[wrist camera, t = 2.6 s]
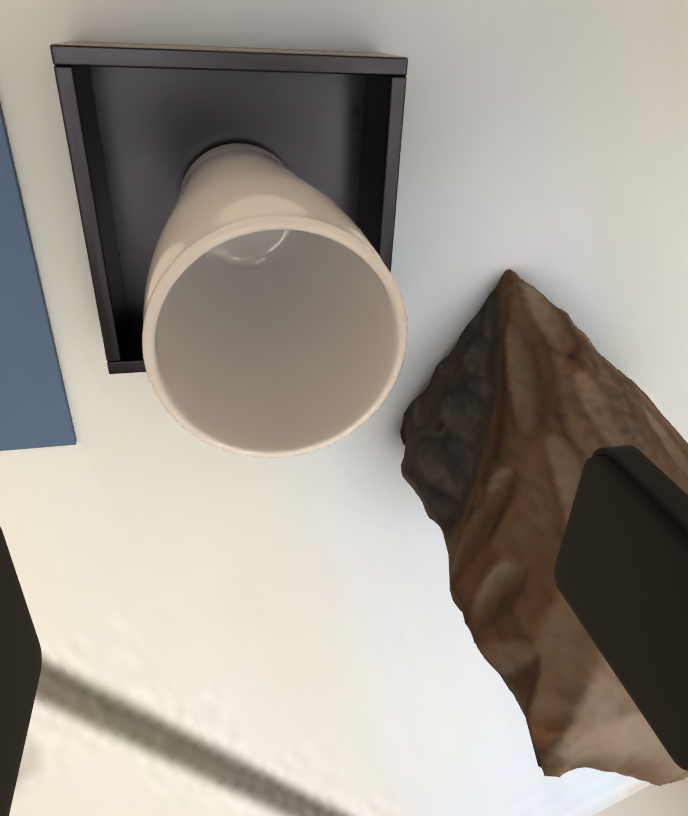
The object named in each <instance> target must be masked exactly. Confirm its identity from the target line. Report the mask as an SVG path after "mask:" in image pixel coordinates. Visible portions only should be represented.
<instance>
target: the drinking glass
mask: <svg viewBox="0 0 688 816" xmlns="http://www.w3.org/2000/svg"><path fill="white" fill-rule="evenodd" d="M406 345H407V318H406V312H405V307H404V303H403V300H402V296H401V294H400V291H399V289H398V286H397V284H396V282H395V280H394V278H393V276H392V274H391V273H390V271H389V270H388V269H387V267H386V265H385V264H384V262H383V260H382V259H381V257H380V256H379V254H378V253H377V251H376V250H375V248H374V247H373V245H372V244H371V242H370V241H369V240H368V238H367V237H366V236H365V234H364V233H363V232H362V231H361V229H360V228H359V227H358V226H357V225H356V223H355V222H354V221H353V220H352V219H351V218H350V217H349V216H348V215H347V214H346V213H345V212H344V211H343V210H342V209H341V208H340V207H339V206H338V205H337V204H336V203H335V202H334V201H332V200H331V199H330V198H329V197H327V196H326V195H325V194H323V193H322V192H321V191H319V190H318V189H317V188H315V187H314V186H312V185H311V184H309V183H308V182H306V181H305V180H303V179H302V178H300V177H299V176H297V175H296V174H295V173H293V172H292V171H290V170H289V169H288V168H287V167H286V166H285V164H284V163H283V162H282V161H281V160H280V159H278V158H277V157H276V156H275V155H273V154H272V153H270V152H268V151H267V150H265V149H263V148H260V147H257V146H254V145H250V144H244V143H231V144H225V145H221V146H218V147H215V148H213V149H211V150H209V151H207V152H206V153H204V154H202V155H201V156H200V157H199V158H198V159H197V160H196V161H195V162H194V163H193V164H192V165H191V166H190V168H189V169H188V171H187V172H186V174H185V176H184V178H183V181H182V183H181V187H180V190H179V196H178V199H177V201H176V203H175V205H174V207H173V209H172V211H171V213H170V215H169V218H168V220H167V222H166V224H165V226H164V228H163V230H162V232H161V234H160V236H159V239H158V241H157V244H156V247H155V249H154V252H153V255H152V259H151V263H150V267H149V271H148V275H147V281H146V288H145V295H144V305H143V332H142V349H143V359H144V363H145V368H146V372H147V375H148V378H149V381H150V383H151V385H152V388H153V390H154V392H155V394H156V396H157V397H158V399H159V401H160V402H161V404H162V405H163V406H164V408H165V409H166V411H167V412H168V413H169V414H170V415H171V416H172V417H173V419H174V420H175V421H176V422H177V423H179V424H180V425H181V426H182V427H183V428H184V429H185V430H187V431H188V432H190V433H191V434H192V435H194V436H195V437H197V438H198V439H200V440H202V441H203V442H205V443H207V444H210V445H212V446H214V447H216V448H219V449H221V450H224V451H227V452H231V453H234V454H238V455H244V456H249V457H258V458H280V457H289V456H296V455H300V454H305V453H309V452H312V451H315V450H318V449H321V448H323V447H326V446H328V445H330V444H332V443H335V442H337V441H339V440H340V439H342V438H344V437H345V436H347V435H349V434H350V433H352V432H353V431H354V430H356V429H357V428H358V427H360V426H361V425H362V424H363V423H364V422H366V421H367V420H368V419H369V418H370V417H371V416H372V415H373V414H374V413H375V412H376V410H377V409H378V408H379V407H380V406H381V405H382V403H383V402H384V400H385V399H386V398H387V396H388V395H389V393H390V391H391V390H392V388H393V386H394V384H395V382H396V380H397V378H398V376H399V373H400V370H401V367H402V365H403V361H404V357H405V352H406Z"/></svg>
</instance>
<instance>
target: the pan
mask: <svg viewBox="0 0 688 816" xmlns="http://www.w3.org/2000/svg"><path fill="white" fill-rule="evenodd" d="M50 49H51V55H52V60H53V64H54V65H56V66H54V71H55V76H56V82H57V88H58V93H59V99H60V104H61V110H62V115H63V121H64V126H65V132H66V137H67V143H68V149H69V154H70V160H71V165H72V171H73V176H74V182H75V187H76V193H77V198H78V204H79V210H80V215H81V221H82V226H83V232H84V237H85V243H86V248H87V254H88V259H89V265H90V270H91V276H92V282H93V287H94V293H95V298H96V304H97V309H98V315H99V320H100V326H101V331H102V337H103V343H104V348H105V354H106V359H107V361H108V362H107V365H108V370H109V373H110V374H118V373H135V372H146V368H145V363H144V359H143V349H142V332H143V305H144V295H145V288H146V281H147V275H148V271H149V267H150V263H151V259H152V255H153V252H154V249H155V247H156V244H157V241H158V239H159V236H160V234H161V232H162V230H163V228H164V226H165V224H166V222H167V220H168V218H169V215H170V213H171V211H172V209H173V207H174V205H175V203H176V201H177V199H178V196H179V190H180V187H181V183H182V181H183V178H184V176H185V174H186V172H187V171H188V169H189V168H190V166H191V165H192V164H193V163H194V162H195V161H196V160H197V159H198V158H199V157H200V156H201V155H202V154H204V153H206V152H207V151H209V150H211V149H213V148H215V147H218V146H221V145H225V144H231V143H244V144H250V145H254V146H257V147H260V148H263V149H265V150H267V151H268V152H270V153H272V154H273V155H275V156H276V157H277V158H278V159H280V160H281V161H282V162H283V163H284V164H285V166H286V167H287V168H288V169H289V170H290V171H292V172H293V173H295V174H296V175H297V176H299V177H300V178H302V179H303V180H305V181H306V182H308V183H309V184H311V185H312V186H314V187H315V188H317V189H318V190H319V191H321V192H322V193H323V194H325V195H326V196H327V197H329V198H330V199H331V200H332V201H334V202H335V203H336V204H337V205H338V206H339V207H340V208H341V209H342V210H343V211H344V212H345V213H346V214H347V215H348V216H349V217H350V218H351V219H352V220H353V221H354V222H355V223H356V225H357V226H358V227H359V228H360V229H361V231H362V232H363V233H364V234H365V236H366V237H367V238H368V240H369V241H370V242H371V244H372V245H373V247H374V248H375V250H376V251H377V253H378V254H379V256H380V257H381V259H382V260H383V262H384V264H385V265H386V267H387V269H388V270H389V271H390V273H391V262H392V250H393V237H394V225H395V213H396V200H397V188H398V176H399V163H400V151H401V139H402V126H403V114H404V101H405V89H406V77H405V76H406V75H407V65H408V58H406V57H401V56H395V55H389V54H383V53H370V52H344V51H318V50H291V49H265V48H239V47H213V46H186V45H160V44H134V43H108V42H81V41H69V42H63V43H57V44H52V45H50Z"/></svg>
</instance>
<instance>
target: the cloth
mask: <svg viewBox="0 0 688 816" xmlns="http://www.w3.org/2000/svg"><path fill="white" fill-rule="evenodd" d="M76 442H77V441H76V437H75V432H74V428H73V424H72V419H71V415H70V410H69V406H68V401H67V397H66V393H65V388H64V384H63V379H62V375H61V371H60V366H59V362H58V357H57V353H56V348H55V344H54V340H53V335H52V331H51V326H50V322H49V317H48V313H47V309H46V304H45V300H44V295H43V291H42V287H41V282H40V278H39V273H38V269H37V264H36V260H35V256H34V251H33V247H32V242H31V238H30V233H29V229H28V225H27V220H26V216H25V211H24V207H23V203H22V198H21V194H20V189H19V185H18V180H17V176H16V172H15V167H14V163H13V158H12V154H11V149H10V145H9V141H8V136H7V132H6V127H5V123H4V119H3V114H2V110H1V105H0V451H4V450H16V449H28V448H40V447H52V446H65V445H75V444H76Z"/></svg>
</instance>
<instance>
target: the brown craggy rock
mask: <svg viewBox="0 0 688 816" xmlns="http://www.w3.org/2000/svg"><path fill="white" fill-rule="evenodd" d="M400 434H401V439H402V441H403V444H404V445H405V453H404V458H403V461H402V464H401V472H402V475H403V477H404V479H405V480H406V481H407V482H408V483H409V484H410V486H411V487H412V488H413V489H414V490H415V492H416V494H417V495H418V496H419V497H420V499H421V501H422V502H423V505H424V508H425V510H426V513H427V515H428V517H429V518H430V519H432V520H433V521H435V522H436V523H437V524H438V525H439V526H440V527H441V529H442V531H443V534H444V538H445V543H446V547H447V551H448V555H449V576H450V592H451V595H452V598H453V601H454V603H455V604H456V605H457V607H458V608H459V609H460V611H462V613H463V615H464V619H465V624H466V625H467V626H468V628H469V630H470V631H471V634H472V636H473V639H474V643H475V644H476V645H477V648H478V649H479V651H480V652H481V654H482V655H483V657H484V658H485V659H486V660H487V662H488V663H489V664H490V665H491V666H492V667H493V668H494V669H495V670H496V671H497V672H498V673H499V674H500V675H501V677H502V679H503V680H504V682H505V683H506V685H507V687H508V688H509V690H510V691H511V692H512V693H513V694H514V696H515V698H516V700H517V702H518V704H519V706H520V708H521V709H522V711H523V713H524V715H525V717H526V721H527V725H528V729H529V732H530V736H531V740H532V744H533V747H534V751H535V755H536V759H537V763H538V766H539V767H541V768H542V770H543V772H544V776H556V777H560V776H561V775H562V774H564V773H566V772H568V771H570V770H573V769H576V768H582V767H588V768H593V769H597V770H601V771H606V772H616V773H619V774H622V775H625V776H631V777H634V778H636V779H638V780H642V781H647V782H649V783H651V784H655V785H658V786H661V785H663V784H667V783H672V782H676V781H679V780H684V779H685V778H686V777H688V770H687V771H686V770H684V769H681V768H680V767H679V766H678V765H677V764H676V763H675V762H674V761H673V760H672V758H671V757H670V755H669V754H668V752H667V751H666V749H665V748H664V746H663V745H662V743H661V742H660V740H659V739H658V737H657V736H656V734H655V733H654V731H653V730H652V728H651V727H650V725H649V724H648V722H647V721H646V719H645V718H644V716H643V715H642V713H641V712H640V710H639V709H638V708H637V706H636V705H635V703H634V702H633V700H632V699H631V697H630V696H629V694H628V693H627V691H626V690H625V688H624V687H623V685H622V684H621V682H620V681H619V679H618V678H617V676H616V675H615V673H614V672H613V670H612V669H611V667H610V666H609V664H608V663H607V661H606V660H605V658H604V657H603V655H602V654H601V652H600V651H599V649H598V648H597V646H596V645H595V643H594V642H593V640H592V639H591V637H590V636H589V634H588V633H587V631H586V630H585V628H584V627H583V625H582V624H581V622H580V621H579V619H578V618H577V616H576V615H575V613H574V612H573V610H572V609H571V608H570V606H569V605H568V603H567V602H566V600H565V599H564V597H563V596H562V594H561V593H560V591H559V589H558V588H557V585H556V582H555V578H554V567H555V564H556V560H557V557H558V553H559V550H560V546H561V543H562V539H563V536H564V533H565V529H566V526H567V522H568V519H569V515H570V512H571V508H572V505H573V501H574V498H575V494H576V491H577V488H578V484H579V481H580V477H581V474H582V470H583V467H584V464H585V462H586V460H587V459H588V458H591V457H592V455H593V453H594V452H595V451H596V450H597V449H599V448H604V447H613V446H622V445H632V446H634V447H636V448H638V449H639V450H640V451H641V452H642V453H643V454H644V455H645V456H646V457H648V458H649V459H650V460H651V461H652V462H653V463H654V464H655V465H656V466H657V467H658V468H659V469H661V470H662V471H663V472H664V473H665V474H666V475H667V476H668V477H669V478H670V479H671V480H672V481H674V482H675V483H676V484H677V485H678V486H679V487H680V488H681V489H682V490H683V491H684V492H685V493H687V494H688V444H687V442H686V441H685V440H684V439H683V438H682V436H681V435H680V434H679V433H678V432H677V430H676V429H675V428H674V427H673V426H672V425H671V424H670V422H669V421H668V420H667V419H666V418H665V417H664V416H663V415H662V414H661V412H660V411H659V410H658V409H657V407H656V406H655V404H654V403H653V402H652V401H651V400H650V398H649V397H648V396H647V395H646V394H645V393H644V392H643V391H642V390H641V389H640V388H639V387H638V386H637V385H636V384H635V383H634V382H633V381H632V380H631V379H629V378H628V377H627V376H625V375H624V374H623V373H622V372H621V371H619V370H617V369H616V368H615V367H614V366H613V365H612V364H611V363H610V362H609V361H607V360H606V359H605V358H604V357H603V356H601V355H600V354H599V353H598V352H597V350H596V349H595V347H594V346H593V345H592V343H591V342H590V341H589V339H588V337H587V336H586V335H585V334H584V333H583V332H582V331H581V330H580V329H578V328H577V327H576V326H575V325H574V323H573V322H572V320H571V319H570V317H569V315H568V314H567V313H566V312H565V311H563V310H561V309H559V308H557V307H556V306H555V305H553V304H552V303H551V302H550V301H548V299H547V298H546V297H545V296H544V295H543V294H541V293H540V292H539V291H538V290H536V289H535V288H534V287H533V286H531V285H529V284H527V283H526V282H524V281H523V280H522V279H520V278H519V277H518V275H517V274H516V273H515V272H513V271H511V270H507V271H506V272H505V273H504V275H503V276H502V278H501V280H500V282H499V283H498V285H497V286H496V288H495V289H494V291H493V292H492V293H491V294H490V296H489V297H488V299H487V300H486V302H485V304H484V305H483V307H482V308H481V310H480V311H479V313H478V314H477V316H476V317H475V318H474V319H473V320H472V321H471V322H470V323H469V324H468V325H467V327H466V328H465V330H464V331H463V333H462V334H461V336H460V339H459V341H458V343H457V345H456V346H455V348H454V349H453V350H452V352H451V353H450V354H449V355H448V357H446V358H445V359H444V360H442V361H441V362H440V363H439V364H438V366H437V367H436V369H435V371H434V373H433V376H432V379H431V382H430V385H429V386H428V387H427V389H426V390H425V391H424V392H423V393H422V394H421V395H419V396H418V397H417V398H416V399H415V400H414V401H413V402H412V403H411V405H410V406H409V407H408V409H407V410H406V412H405V413H404V418H403V423H402V428H401V432H400Z"/></svg>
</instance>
